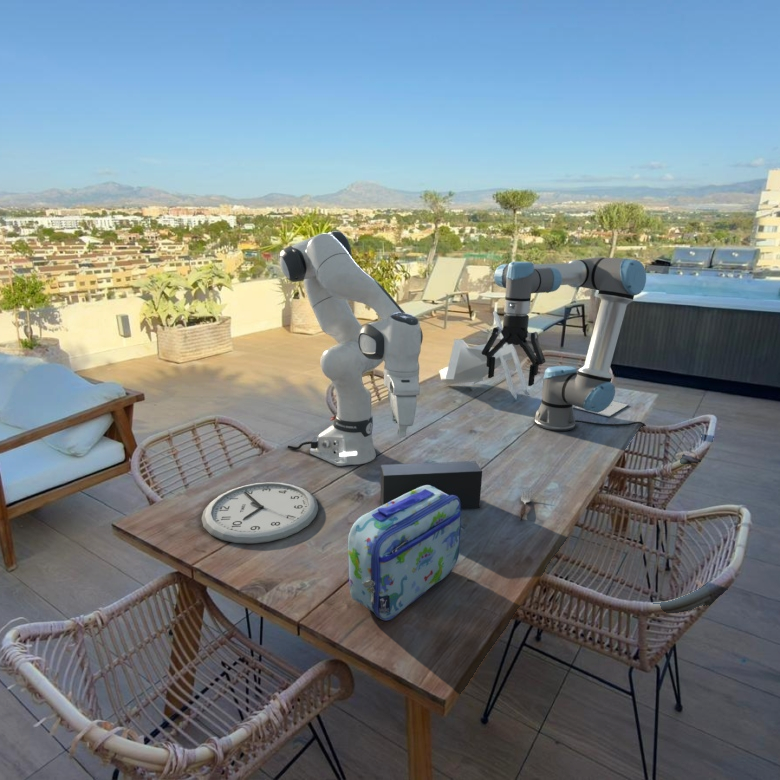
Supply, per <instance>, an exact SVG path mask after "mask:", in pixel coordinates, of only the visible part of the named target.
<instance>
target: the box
mask: <svg viewBox="0 0 780 780" xmlns="http://www.w3.org/2000/svg"><path fill="white" fill-rule="evenodd" d="M482 481H483V470H482V468H481V467H480V465H479V463H477V461H476V460H471V461H469V460H468V461H446V462H445V461H443V462H423V463H421V462H420V463H398V464H381V465H380V506H382V505H384V504H386V503H388V502H390V501H392V500H394V499H396V498H398V497H400V496H402V495H404V494H406V493H408V492H410V491H412V490H414V489H416V488H419V487H421V486H424V485H430V486H433V487H435V488H436V489H438V490H440V491H442V492H444V493H446V494H447V495H454V496H457V497H458V498H459V500H460V504H461V510H468V509H480V506H481V505H480V504H481V493H482Z"/></svg>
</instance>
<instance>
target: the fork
mask: <svg viewBox="0 0 780 780" xmlns="http://www.w3.org/2000/svg"><path fill="white" fill-rule="evenodd" d="M532 491H533V489H530V490H528V491H527V488H526V489H523V491H522V494H521V497H520V500H521V502H522V503H523V505H522V507H521V508H520V521H522V520H523V518H524V515H525V513H526V508H527V507H526V505H527V503H530V502H531V500H532Z"/></svg>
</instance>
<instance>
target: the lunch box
mask: <svg viewBox="0 0 780 780" xmlns="http://www.w3.org/2000/svg"><path fill="white" fill-rule="evenodd" d="M461 520H462V509H461V504H460V500H459V498H458V497H457V496H454V495H447V494H446V493H444V492H442V491H440V490H438V489H436V488H435V487H433V486H430V485H424V486H421V487H419V488H416V489H414V490H412V491H410V492H408V493H406V494H404V495H402V496H400V497H398V498H396V499H394V500H392V501H390V502H388V503H386V504H384V505H380V506H378V507H377V508H375V509H372V510H371V511H368V512H367V513H365V514H362V515H361V516H359V517H357V519H356V520H355V521H354V523H353V524H352V526H351V528H350V530H349V533H348V536H347V537H348V538H347V557H348V559H347V560H348V586H349V592H350V597H351V599H352V600H353V601H355V602H356V603H358V604H360V605H362V606H364V607H365V608H366V609H368V610H369V611H371V612H372V613H374V615H375V616H376V617H377V618H379V619H380V620H383V621H390V620H393V619H394V618H395V617H397V616H398V615H399V614H400V613H401V612H402V611H403V610H405V609H406V608H407V607H408V606H409V605H411V604H412V603H414V602H415V601H416V600H417V599H419V598H420V597H421V596H422V595H424V594H425V593H426V592H427V591H429V589H431V588H432V587H433V586H435V585H436V584H438V583H439V582H440V581H442V580H444V579H445V578H446V577H448V575H450V573H451V572H452V571H453V570H454V568H455V566H456V564H457V562H458V559H459V555H460V552H461V551H460V549H461V535H462V534H461V533H462V521H461Z"/></svg>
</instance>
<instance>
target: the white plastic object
mask: <svg viewBox="0 0 780 780" xmlns="http://www.w3.org/2000/svg"><path fill="white" fill-rule="evenodd" d="M492 315H493V319H494V321H495V324H496V325H495V326H496V327H499V328H501V329H503V323H502V321H501V318H500V315H499V314H498V312H497V311H496V310H495V311H492ZM498 336H499V338H500V340H501V339H502V338H503V335H502V333H500V334H499V335H498ZM486 344H487V343H483V344H479V345H473V346H469V345H468V343H466V342H465V340H464V339H463V338H460V339H458V338H454V340H453V344H452V349H451V353H450V357H449V362H448V366H446V367H444V368H442V369H440V370H439V371H438V372H439V376H440V381H442V383H443V384H444V385H445V386H449V385H458V384H467V383H468V384H469V383H473V384H477V383H480V382H482V381H484V378H485V377H486V376H488V370H489V367H487V356H485V355H482V351H483V349H484V347H485V345H486ZM492 349H493V348H492V347H491V349H490V350H489V352H490V351H491V350H492ZM492 357H495V368H494V370H496V369H497V368H499V367H500V366H502V370H503V373H504V376H505V380H506V383H507V386H508V390H509V393H510V394H511V395H512V397H513V398H514V399H515V400H517V392H516V391H517V390H516V388H515V385H514V381H513V378H512V375H511V371H510V369H509V365H508V361H510V360H513V363H514V366H515V369H516V372H517V376H518V380H519V382H520V385H521V389H522V391H523V393H524V395H525V396H526V397H528V396H531V395H530V390H529V388H528V387H529V386H528V383H527V381H526V378H525V375H524V371H523V369H522V368H523V367H522V366H521V362H520V359H519V355H518V352H517V349H516V347H515V345H514V344H508V343H505V344H504V345H503V346H502V347H501V348H500V349H499V350H498V351H497V352H496V353H495V354H494V356H492Z"/></svg>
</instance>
